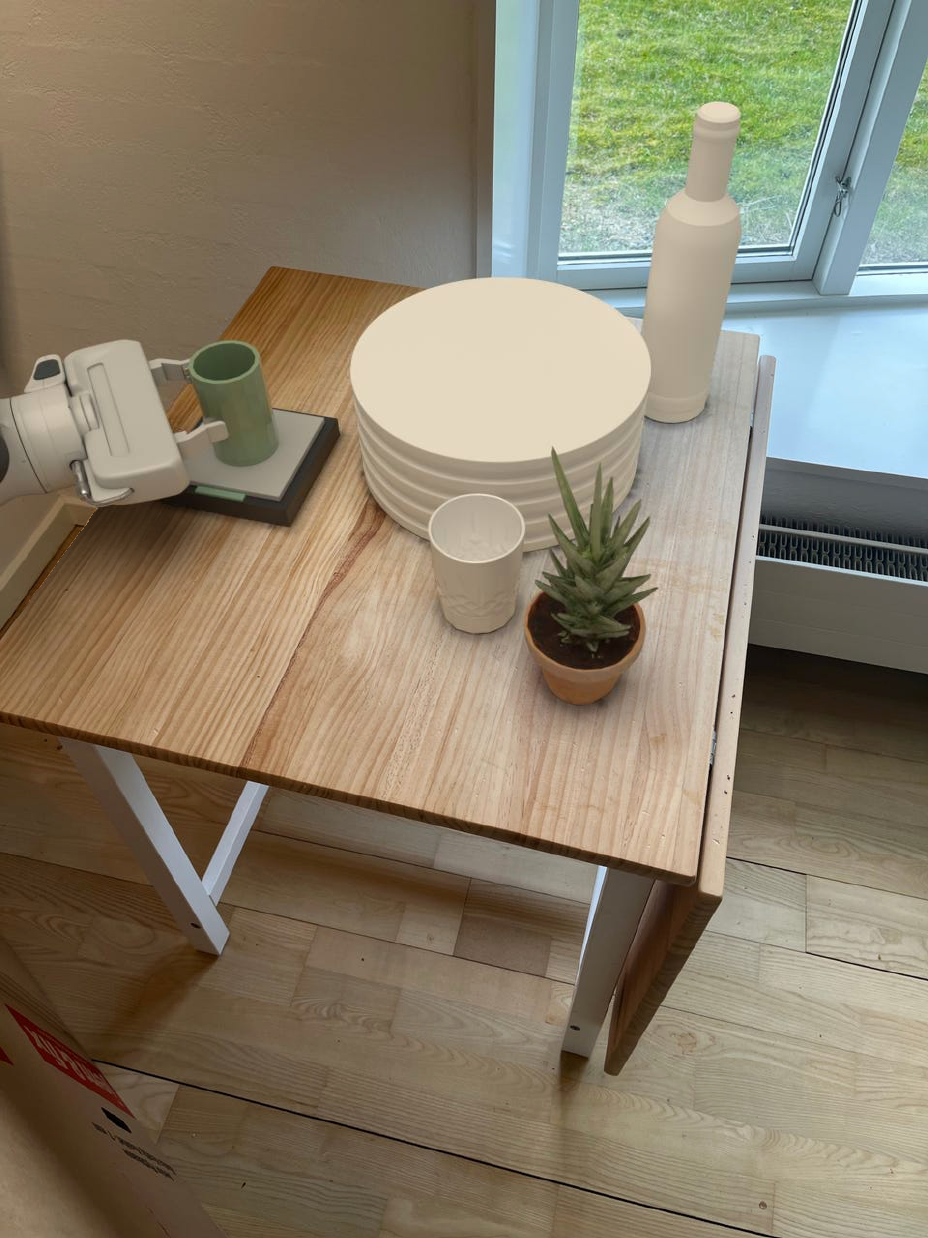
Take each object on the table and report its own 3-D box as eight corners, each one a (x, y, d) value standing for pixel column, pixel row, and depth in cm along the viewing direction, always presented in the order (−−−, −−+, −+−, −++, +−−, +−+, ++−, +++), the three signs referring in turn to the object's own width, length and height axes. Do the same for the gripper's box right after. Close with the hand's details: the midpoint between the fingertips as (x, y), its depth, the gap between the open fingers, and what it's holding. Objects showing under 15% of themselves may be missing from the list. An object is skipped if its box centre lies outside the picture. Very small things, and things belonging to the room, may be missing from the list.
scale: (289, 527, 92) (284, 505, 89) (159, 502, 94) (151, 480, 92) (340, 434, 100) (336, 412, 98) (219, 413, 103) (213, 392, 100)
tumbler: (224, 474, 92) (199, 391, 84) (206, 435, 96) (180, 352, 88) (287, 454, 94) (269, 370, 86) (267, 416, 98) (247, 332, 90)
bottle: (645, 430, 99) (691, 136, 76) (621, 384, 104) (657, 95, 80) (717, 417, 100) (785, 123, 77) (690, 372, 105) (745, 84, 81)
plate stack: (559, 344, 109) (565, 251, 100) (689, 500, 92) (710, 406, 83) (327, 411, 102) (311, 318, 93) (423, 591, 86) (415, 500, 77)
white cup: (420, 624, 84) (412, 547, 76) (454, 562, 88) (450, 483, 80) (504, 650, 82) (504, 573, 74) (534, 585, 86) (538, 506, 78)
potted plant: (503, 653, 81) (505, 429, 62) (600, 616, 84) (631, 389, 64) (557, 744, 76) (578, 528, 56) (660, 702, 78) (714, 480, 59)
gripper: (68, 482, 77) (233, 436, 80) (36, 346, 89) (181, 310, 92) (93, 536, 82) (248, 490, 85) (60, 401, 94) (197, 364, 97)
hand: (213, 396), depth 89 cm, fingers open, 8 cm apart
